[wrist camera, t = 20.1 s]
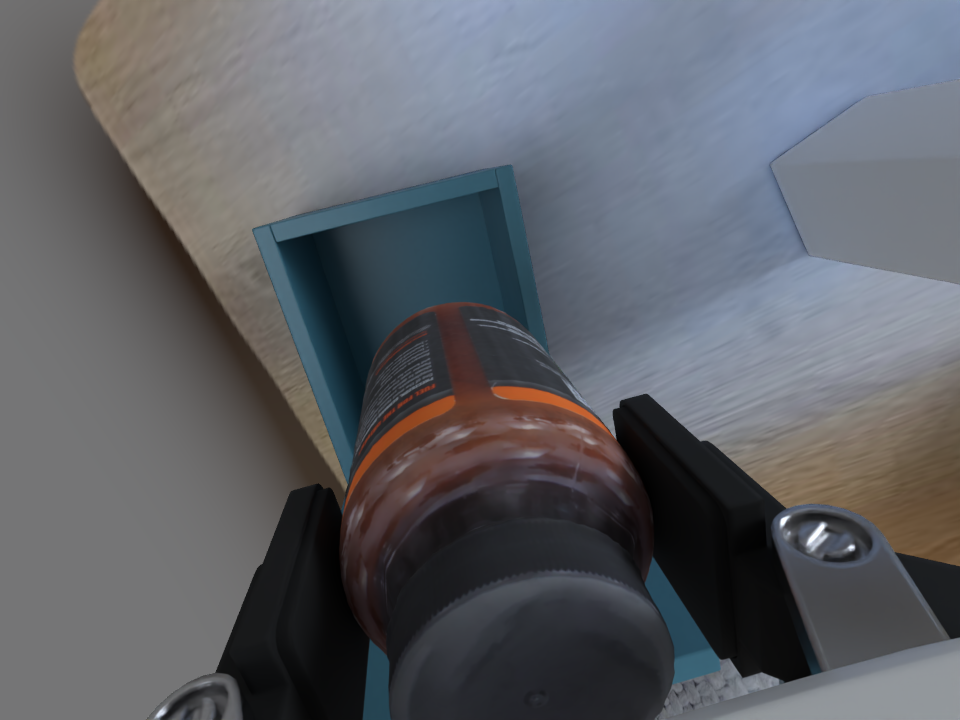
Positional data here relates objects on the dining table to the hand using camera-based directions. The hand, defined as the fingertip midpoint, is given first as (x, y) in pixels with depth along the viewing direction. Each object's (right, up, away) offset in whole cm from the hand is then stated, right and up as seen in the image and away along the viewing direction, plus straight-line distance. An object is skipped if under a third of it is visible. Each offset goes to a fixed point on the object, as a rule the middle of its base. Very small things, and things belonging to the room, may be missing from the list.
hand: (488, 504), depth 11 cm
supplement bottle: (-1, +2, +7) cm, 7 cm away
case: (-4, +7, +22) cm, 24 cm away
